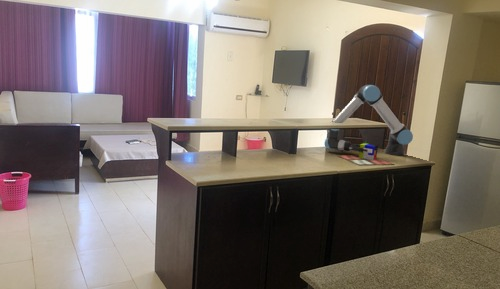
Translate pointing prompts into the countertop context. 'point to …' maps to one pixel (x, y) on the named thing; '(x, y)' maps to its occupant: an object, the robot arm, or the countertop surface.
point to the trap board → (364, 162)
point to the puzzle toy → (366, 154)
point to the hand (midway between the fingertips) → (374, 150)
